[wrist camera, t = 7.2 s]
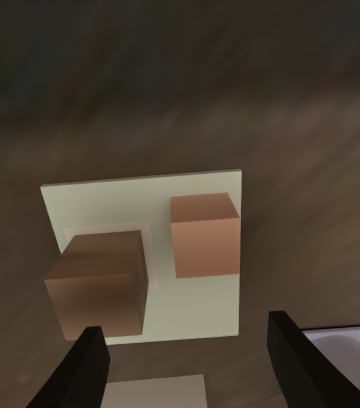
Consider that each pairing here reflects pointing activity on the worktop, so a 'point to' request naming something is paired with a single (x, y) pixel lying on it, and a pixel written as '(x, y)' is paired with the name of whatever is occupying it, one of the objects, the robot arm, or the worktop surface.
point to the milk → (157, 393)
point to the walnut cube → (100, 284)
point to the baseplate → (154, 246)
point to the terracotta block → (205, 235)
